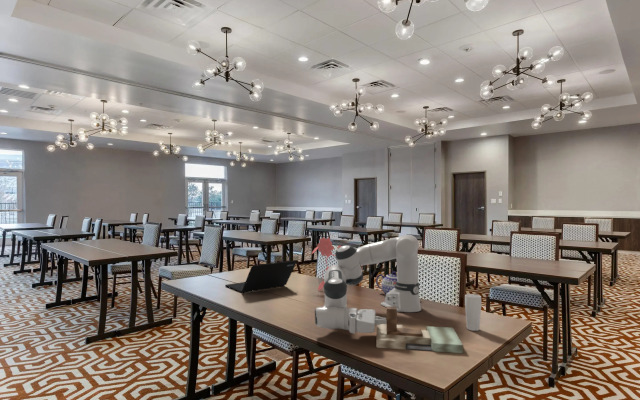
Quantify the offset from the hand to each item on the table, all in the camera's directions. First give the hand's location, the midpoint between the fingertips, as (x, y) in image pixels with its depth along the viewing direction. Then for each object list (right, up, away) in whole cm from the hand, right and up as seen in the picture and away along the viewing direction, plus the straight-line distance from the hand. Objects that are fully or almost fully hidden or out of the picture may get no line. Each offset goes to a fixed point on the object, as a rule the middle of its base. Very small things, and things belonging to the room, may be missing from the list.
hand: (386, 321), depth 153 cm
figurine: (-24, -9, +81) cm, 85 cm away
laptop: (-66, -9, +93) cm, 115 cm away
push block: (+7, -5, -1) cm, 8 cm away
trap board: (+12, -8, -1) cm, 14 cm away
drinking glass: (+41, -8, +13) cm, 44 cm away
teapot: (+18, -9, +75) cm, 78 cm away
